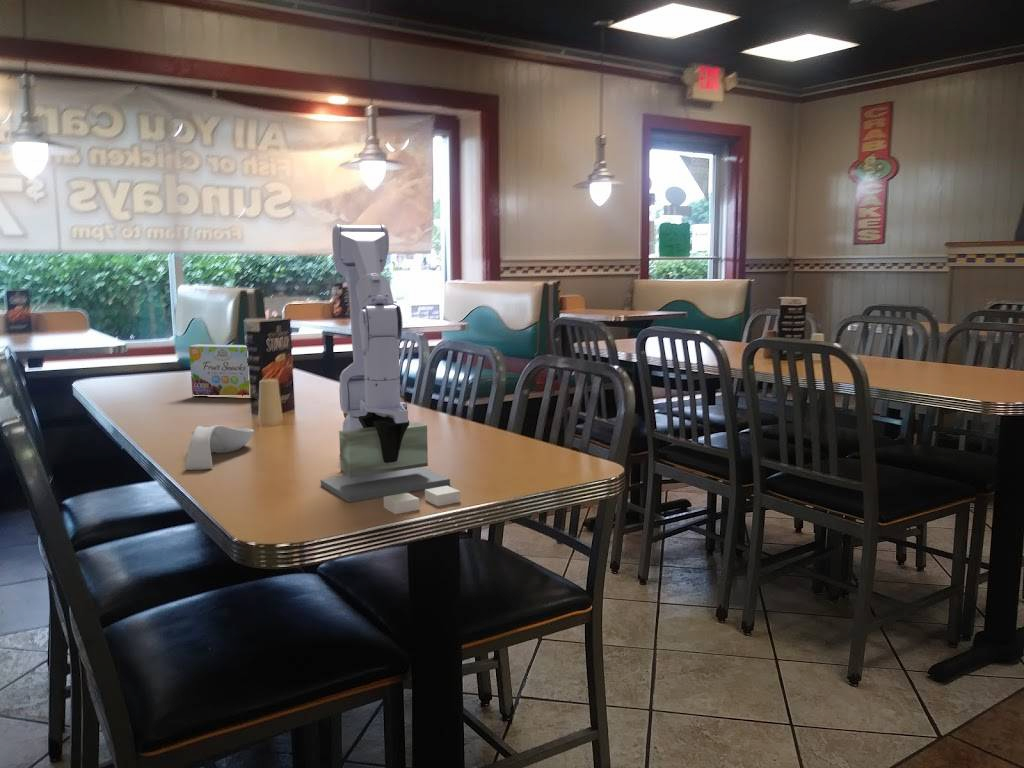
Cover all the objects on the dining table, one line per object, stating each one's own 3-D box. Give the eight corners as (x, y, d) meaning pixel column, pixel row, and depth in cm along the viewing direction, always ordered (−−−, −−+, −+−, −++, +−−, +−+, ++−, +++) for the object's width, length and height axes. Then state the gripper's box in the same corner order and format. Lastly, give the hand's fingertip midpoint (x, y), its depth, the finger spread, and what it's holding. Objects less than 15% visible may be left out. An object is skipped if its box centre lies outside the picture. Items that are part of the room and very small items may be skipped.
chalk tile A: (383, 509, 121) (383, 496, 121) (407, 505, 123) (407, 492, 123) (395, 516, 118) (394, 502, 117) (419, 511, 120) (419, 498, 120)
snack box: (191, 397, 229) (187, 345, 227) (201, 394, 234) (198, 343, 232) (260, 399, 225) (257, 346, 223) (269, 396, 231) (266, 344, 229)
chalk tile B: (425, 502, 125) (424, 489, 125) (447, 497, 127) (447, 485, 127) (437, 508, 122) (437, 495, 121) (460, 503, 124) (459, 491, 124)
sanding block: (340, 472, 131) (339, 430, 130) (417, 461, 139) (416, 421, 138) (350, 477, 128) (348, 434, 127) (427, 466, 135) (427, 425, 134)
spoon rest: (202, 444, 167) (200, 410, 166) (259, 442, 169) (258, 409, 168) (167, 472, 144) (164, 433, 143) (234, 470, 145) (231, 432, 144)
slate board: (320, 485, 134) (320, 479, 133) (417, 470, 143) (417, 464, 143) (348, 502, 124) (348, 496, 123) (450, 484, 134) (449, 478, 133)
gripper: (424, 381, 127) (426, 464, 129) (385, 372, 139) (388, 448, 141) (383, 384, 123) (386, 470, 125) (347, 375, 135) (350, 453, 137)
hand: (384, 459), depth 133 cm, fingers closed on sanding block, 4 cm apart
